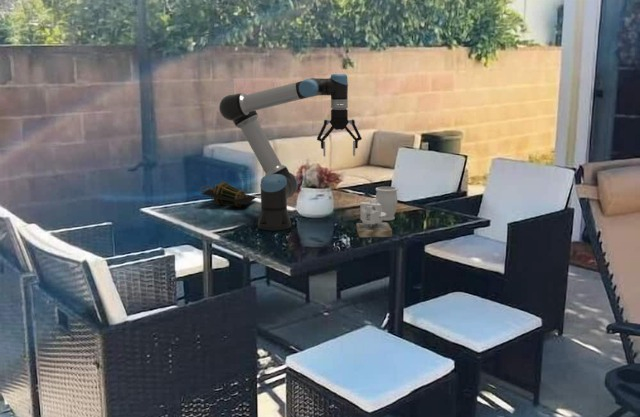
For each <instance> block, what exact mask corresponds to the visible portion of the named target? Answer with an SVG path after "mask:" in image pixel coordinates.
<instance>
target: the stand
mask: <svg viewBox="0 0 640 417" xmlns="http://www.w3.org/2000/svg"><path fill="white" fill-rule="evenodd" d="M356 232H357V235H358V238H392V237H393V229H392V228H391V226H390V223H389V222H387V221H384V222H381V223H380V225H379V227H378V223H375V224H372V227H371V224H368V226H367V224H365V223H363V222H356Z"/></svg>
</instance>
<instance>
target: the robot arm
mask: <svg viewBox="0 0 640 417" xmlns="http://www.w3.org/2000/svg"><path fill="white" fill-rule="evenodd" d="M348 87H349V83H348V75H347V74H346V73H332V74H331V75H330V77H329V78H315V77H314V78H313V77H312V78H306V79H303V80H301V81H298V82H296V81H295V82H293V83H288V84H285V85H281V86H277V87H272V88H269V89H265V90H262V91H257V92H253V93H249V94H244V93H234V94H228V95H226V96H225V97H223V98H222V99H221V101H220V103H219V107H218V108H219V113H220V114H221V116H222V117H223V118H224V119H226V120H229V121H232V122H233V124H234V125H235V127H236V128H238V129H240V130H241V131H242V133H243V136H244V137H245V139H246V141H247V142H248V144H249V147H250V148H251V150H252V151H253V153H254V156H255V158H257V160H258V162H259V164H260V166H261V168H262V170H263V171H264V173H265V174H264V176H263V177H262V178H261V179H260V204H261V205H260V206H261V207H260V209H261V210H260V214H259V217H258V219H257V220H258V221H257V228H258V229H259V230H263V231H271V232H272V231H284V230H287V229H290V228H291V227H292V221H291V217H290V215H289V213H288V208H287V207H288V204H287V202H288V199H289V198H290V197H292V196H293V195H294V194H295V193H296V191H297V190H298V180H297V178H296V176H295V174H293V173H291V172H290V171H289V169H288V166H285V165H283V164H281V162H280V159H279V157H278V155H277V154H276V153H275V152H276V151H275V150H274V148H273V147H272V145H271V143H270V141H269V140H268V138H267V136H266V134H265V132H264V131H263V127H261V124H260V123H259V121H258V117H259V114H258V113H257V111H259V110H263V109H266V108H271V107H275V106H280V105H284V104H288V103H291V102H296V101H298V100H304V99H308V98H313V97H316V96H330V108H331V110H330V120H329V119H328V120H327V119H324V120H323V125H322V126H321V129H320V131H319V133H318V135H317V137H316V140H317V141H318V142H320V149H322V150H323V151H322V152H323V157H326V141H325V140H326V139H327V138H328V136H330V134H331V133H332V132H333V131H334V130H337V131H339V130H341V131H343V130H345V131H346V132H347V133H348V134H349V136H350V137H352V139H353V142H352V155H353V157H356V149H358V146H359V141H361V140H362V136H361V134H360V132H359V130H358V128H357V126H356V122H355V119H348V116H349V115H348V112H349V111H348V106H349V104H348V102H349V101H348V100H349V99H348V94H349V91H348V89H349V88H348ZM329 124H330V125H331V127H330V128H329V129H328V130H327V132H326V133H325V134H324V135H323V133H324V132H325V130H326V127H327V126H328V125H329ZM348 124H350V125H351V127H352V128H353V130H354V132H355V134H356V136H357V137H356V136H355V134H354V133H353V132H352V131H351V130H350V129H349V127H348Z"/></svg>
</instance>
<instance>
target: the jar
mask: <svg viewBox="0 0 640 417" xmlns="http://www.w3.org/2000/svg"><path fill="white" fill-rule="evenodd" d="M375 191H376V193H375V199H374V201H376V200H378V203H379V204H381V208H382V210H381V212H384V213H386V218H383V219H382V222H387V221H388V222H389V221H394V220H395V215H396V212H397V207H398V206H397V205H398V194H397V191H398V188H397V187H395V186H378V187H376V188H375Z"/></svg>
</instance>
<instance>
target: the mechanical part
mask: <svg viewBox="0 0 640 417" xmlns="http://www.w3.org/2000/svg"><path fill="white" fill-rule="evenodd" d="M375 200H376V199H375ZM375 200H373V199H369V201H360V203H359V204H360V206H359V209H360V210H359V212H360V221H362V222H361V223H365V224H367V226H368V224H371V227H372V224H375V223H378V227H379V225H380V223H383V220H382V219H383V218H386V213H384V212H381V210H382V208H381V204H379V203H378V200H376V201H375Z"/></svg>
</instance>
